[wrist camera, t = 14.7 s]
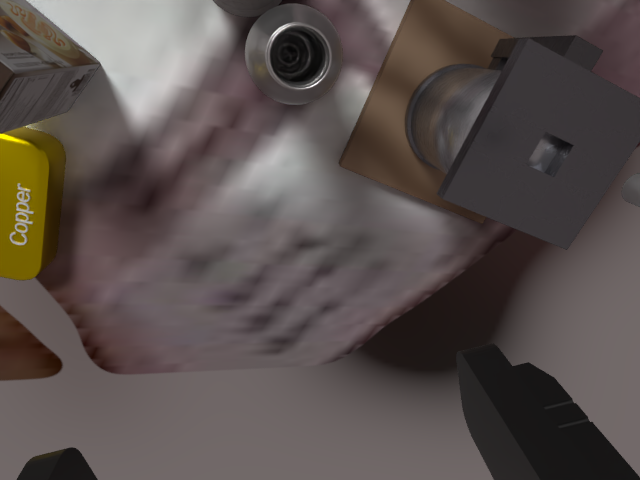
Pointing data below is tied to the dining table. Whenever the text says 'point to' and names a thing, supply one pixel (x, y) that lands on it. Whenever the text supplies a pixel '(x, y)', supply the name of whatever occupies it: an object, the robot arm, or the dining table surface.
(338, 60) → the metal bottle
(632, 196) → the plunger
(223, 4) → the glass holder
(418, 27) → the board
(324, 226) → the dining table surface
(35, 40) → the coffee box
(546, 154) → the press
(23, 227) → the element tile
